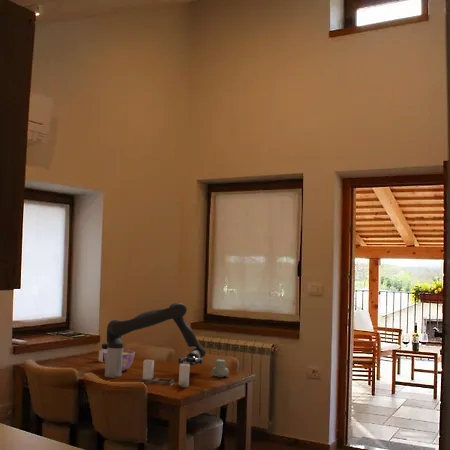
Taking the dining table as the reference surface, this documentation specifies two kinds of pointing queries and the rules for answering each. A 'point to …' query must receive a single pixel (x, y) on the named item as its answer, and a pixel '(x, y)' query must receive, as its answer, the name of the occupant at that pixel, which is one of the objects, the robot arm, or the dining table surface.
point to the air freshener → (220, 369)
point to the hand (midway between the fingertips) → (188, 362)
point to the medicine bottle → (101, 354)
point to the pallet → (158, 381)
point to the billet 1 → (148, 370)
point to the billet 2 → (184, 375)
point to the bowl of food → (124, 358)
